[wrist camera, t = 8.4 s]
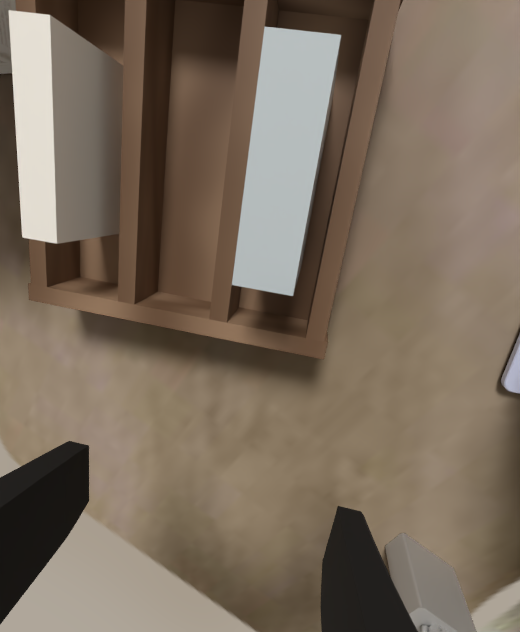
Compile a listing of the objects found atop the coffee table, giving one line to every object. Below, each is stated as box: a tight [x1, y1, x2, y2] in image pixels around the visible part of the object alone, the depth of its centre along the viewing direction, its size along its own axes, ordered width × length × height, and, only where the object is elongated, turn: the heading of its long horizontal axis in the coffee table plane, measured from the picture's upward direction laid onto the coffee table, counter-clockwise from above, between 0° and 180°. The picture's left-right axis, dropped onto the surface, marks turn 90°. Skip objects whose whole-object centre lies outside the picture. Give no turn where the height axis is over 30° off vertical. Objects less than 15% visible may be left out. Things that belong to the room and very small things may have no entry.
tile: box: [9, 10, 123, 244], centre depth 15 cm, size 1×7×5 cm, turn 172°
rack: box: [15, 0, 403, 359], centre depth 16 cm, size 14×14×4 cm
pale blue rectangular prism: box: [232, 27, 341, 296], centre depth 13 cm, size 2×7×6 cm, turn 172°
